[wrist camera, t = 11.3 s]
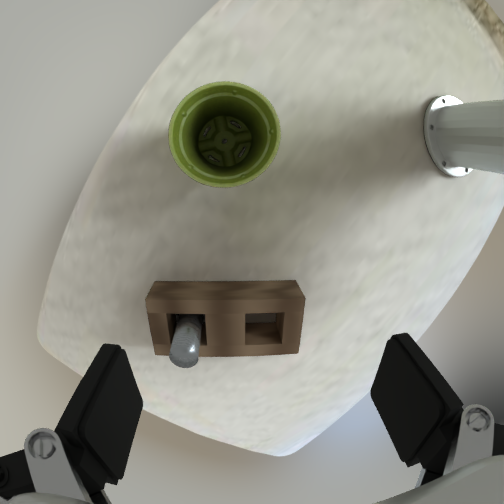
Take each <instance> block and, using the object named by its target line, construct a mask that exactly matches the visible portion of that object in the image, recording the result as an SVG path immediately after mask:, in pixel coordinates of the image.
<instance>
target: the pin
mask: <svg viewBox="0 0 504 504" xmlns="http://www.w3.org/2000/svg"><path fill="white" fill-rule="evenodd" d="M202 322H203V314H179V318H178V322H177V326H176V329H175V333H174V337H173V341H172V345H171V349H170V353H169V358H170V360H171V361H172V363H174V364H175V365H176V366H179V367H182V368H189V367H192V366H194V365H195V364H196V363H197V362H198V356H199V347H200V338H201V330H202Z"/></svg>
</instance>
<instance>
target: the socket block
mask: <svg viewBox="0 0 504 504" xmlns="http://www.w3.org/2000/svg"><path fill="white" fill-rule="evenodd" d="M145 301H146V308H147V314H148V320H149V325H150V331H151V336H152V341H153V346H154V351H155V355H166V356H169V353H170V349H171V345H172V341H173V337H174V333H175V329H176V326H177V323H176V315H175V314H205V321H206V324H202V330H201V338H200V347H199V356H198V357H234V356H265V355H282V354H296V353H298V352H299V345H300V338H301V330H302V322H303V314H304V306H305V296H304V295H303V293H302V291H301V289H300V287H299V285H298V284H297V282H296V280H285V281H212V282H185V281H155V282H154V284H153V286H152V288H151V289H150V291H149V293H148V295H147V297H146V299H145ZM247 313H276V322H269V323H245V314H247Z"/></svg>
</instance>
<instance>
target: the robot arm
mask: <svg viewBox="0 0 504 504" xmlns="http://www.w3.org/2000/svg"><path fill="white" fill-rule="evenodd" d="M424 134H425V140H426V145H427V148H428V151H429V153H430V155H431V157H432V159H433V161H434V162H435V164H436V165H437V167H438V168H439V169H440V170H441V171H443V172H444V173H445V174H447V175H450V176H454V177H463V176H465V175H467V174H468V173H470V172H471V170H472V169H476V170H483V171H489V172H494V173H500V174H504V100H494V101H482V102H472V103H462V102H461V101H460V100H459V99H457V98H455V97H453V96H448V95H444V96H439V97H437V98H435V99H434V100H433V101H431V103H430V104H429V106H428V107H427V110H426V113H425V118H424ZM371 398H372V400H373V402H374V404H375V406H376V408H377V410H378V412H379V414H380V416H381V419H382V420H383V422H384V425H385V427H386V429H387V431H388V433H389V435H390V438H391V439H392V442H393V444H394V446H395V448H396V451H397V452H398V455H399V457H400V459H401V461H403V462H405V463H406V465H407V467H410V466H413V465H415V464H417V463H421V465H422V470H421V473H420V475H419V478H418V481H417V484H416V486H415V489H412V490H410V491H407V492H405V493H402V494H400V495H397V496H394V497H392V498H389V499H386V500H383V501H380V502H377V503H374V504H504V425H500V424H496V423H494V418H493V415H492V413H491V412H490V411H489V410H488V409H487V408H486V407H484V406H481V405H476V404H475V405H470V406H468V407H467V408H465V410H463V408H462V406H463V403H462V402H461V400H460V399H459V397H458V396H457V395H456V393H455V392H454V391H453V389H452V388H451V387H450V385H449V384H448V383H447V381H446V380H445V379H444V377H443V376H442V375H441V374H440V372H439V371H438V370H437V368H436V367H435V366H434V365H433V363H432V362H431V361H430V360H429V359H428V357H427V356H426V355H425V353H424V352H423V351H422V350H421V348H420V347H419V346H418V345H417V344H416V342H415V341H414V340H413V339H412V338H411V336H410V335H409V334H408V333H402V334H396V335H392V337H391V338H390V339H389V340H388V341H387V343H386V347H385V350H384V353H383V356H382V359H381V362H380V365H379V368H378V371H377V374H376V377H375V380H374V382H373V385H372V388H371ZM142 408H143V400H142V397H141V395H140V392H139V389H138V387H137V384H136V381H135V378H134V375H133V372H132V370H131V367H130V364H129V361H128V357H127V354H126V351H125V350H124V349H121V347H120V345H115V344H103V345H102V346H101V348H100V350H99V351H98V353H97V355H96V356H95V358H94V360H93V362H92V363H91V365H90V367H89V368H88V370H87V372H86V374H85V375H84V377H83V378H82V380H81V381H80V383H79V385H78V387H77V389H76V390H75V392H74V394H73V396H72V398H71V400H70V401H69V403H68V405H67V407H66V409H65V411H64V413H63V415H62V417H61V419H60V421H59V423H58V425H57V427H56V429H55V431H52V430H50V429H47V428H40V429H36V430H34V431H32V432H31V433H30V434H29V435H28V436H27V438H26V439H25V443H24V449H23V450H20V451H17V452H14V453H12V454H9V455H5V456H2V457H0V504H111V502H110V500H109V498H108V497H107V495H106V493H105V491H104V490H103V489H104V486H105V483H110V484H114V485H117V483H118V479H122V478H123V476H124V472H125V468H126V464H127V461H128V457H129V453H130V449H131V445H132V442H133V439H134V435H135V432H136V428H137V424H138V421H139V418H140V414H141V411H142Z"/></svg>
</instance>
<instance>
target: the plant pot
mask: <svg viewBox="0 0 504 504" xmlns="http://www.w3.org/2000/svg"><path fill="white" fill-rule="evenodd" d="M231 121H234V122H236V123H238V124H239V125H240V126H241V128H238V127H237V126H235V125H233V124H231V123H230V122H231ZM208 127H211V128H210V130H209V131H208V132H207V134H206V136H205V137H204V136H203V134H204V132H205V130H206V129H207V128H208ZM280 138H281V131H280V123H279V119H278V116H277V113H276V111H275V109H274V107H273V106H272V104H271V103H270V102H269V101H268V99H267V98H266V97H264V96H263V95H262V94H261V93H260V92H258V91H257V90H255V89H253V88H251V87H249V86H247V85H244V84H241V83H236V82H225V81H224V82H215V83H209V84H206V85H203V86H201V87H199V88H197V89H195V90H194V91H192V92H191V93H189V94H188V95H187V96H186V97H185V98H184V99H183V100H182V101H181V102H180V103H179V105H178V106H177V108H176V109H175V111H174V113H173V115H172V118H171V121H170V125H169V132H168V139H169V146H170V150H171V153H172V156H173V158H174V160H175V162H176V163H177V165H178V166H179V167H180V169H181V170H182V171H183V172H184V173H185V174H187V175H188V176H189V177H190V178H192V179H193V180H195V181H197V182H199V183H201V184H204V185H207V186H212V187H220V188H227V187H235V186H239V185H242V184H245V183H248V182H250V181H252V180H253V179H255V178H257V177H258V176H259V175H261V174H262V173H263V172H264V171H265V170H266V169H267V168H268V167H269V165H270V164H271V162H272V161H273V159H274V158H275V156H276V153H277V151H278V148H279V144H280ZM223 139H226V140H227V142H226V143H223V142H222V140H223ZM244 146H245V147H246V149H245V151H244V153H243V155H242V156H241V157H239V156H238V155H239V154H240V152H241V151H242V149H243V147H244ZM209 155H211V156H213V157H214V158H216V159H217V160H219V161H218V162H216V161H213V160H211V159H210V158H209Z"/></svg>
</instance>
